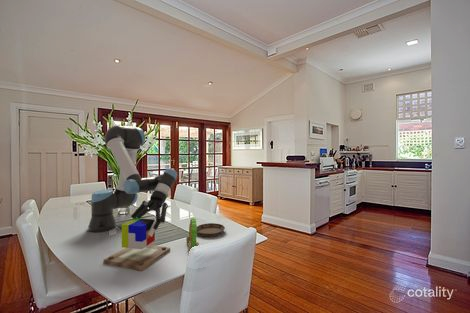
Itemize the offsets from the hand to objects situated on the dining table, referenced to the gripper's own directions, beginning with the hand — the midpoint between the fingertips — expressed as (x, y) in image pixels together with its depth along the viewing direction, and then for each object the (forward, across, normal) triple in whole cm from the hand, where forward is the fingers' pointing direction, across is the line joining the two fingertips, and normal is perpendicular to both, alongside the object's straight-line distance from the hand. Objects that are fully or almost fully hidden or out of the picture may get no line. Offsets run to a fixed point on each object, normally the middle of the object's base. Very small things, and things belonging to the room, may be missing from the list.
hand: (139, 234), depth 105 cm
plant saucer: (-20, -18, -36) cm, 45 cm away
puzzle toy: (+4, 0, -3) cm, 4 cm away
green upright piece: (-5, -18, -20) cm, 27 cm away
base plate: (+7, 0, -7) cm, 11 cm away
